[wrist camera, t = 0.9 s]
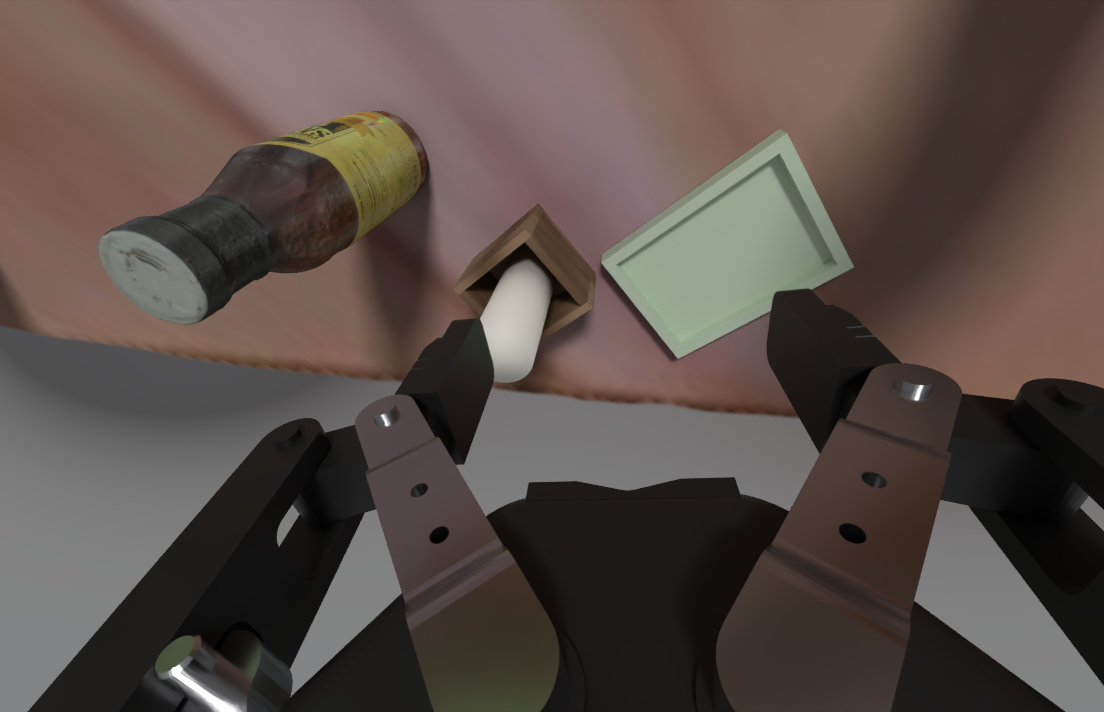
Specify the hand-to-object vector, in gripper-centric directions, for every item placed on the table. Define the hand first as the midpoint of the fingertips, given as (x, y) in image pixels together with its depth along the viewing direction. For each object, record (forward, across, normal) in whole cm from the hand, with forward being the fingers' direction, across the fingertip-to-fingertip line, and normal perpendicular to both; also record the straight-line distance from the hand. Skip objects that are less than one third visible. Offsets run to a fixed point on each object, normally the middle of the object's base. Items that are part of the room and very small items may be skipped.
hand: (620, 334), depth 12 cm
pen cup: (+23, +7, +6) cm, 24 cm away
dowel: (+22, +7, +6) cm, 24 cm away
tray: (+22, -8, +7) cm, 24 cm away
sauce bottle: (+23, +16, -3) cm, 28 cm away
